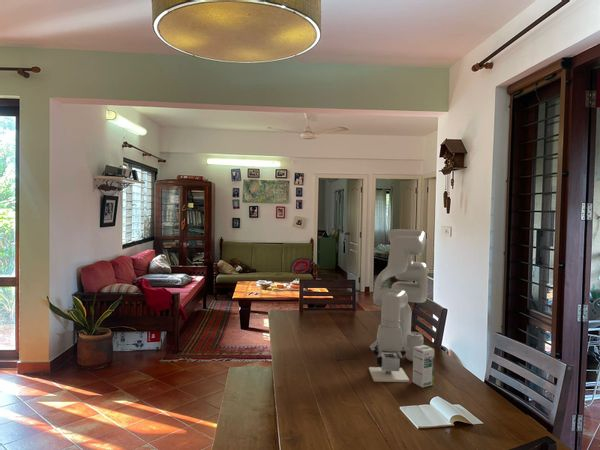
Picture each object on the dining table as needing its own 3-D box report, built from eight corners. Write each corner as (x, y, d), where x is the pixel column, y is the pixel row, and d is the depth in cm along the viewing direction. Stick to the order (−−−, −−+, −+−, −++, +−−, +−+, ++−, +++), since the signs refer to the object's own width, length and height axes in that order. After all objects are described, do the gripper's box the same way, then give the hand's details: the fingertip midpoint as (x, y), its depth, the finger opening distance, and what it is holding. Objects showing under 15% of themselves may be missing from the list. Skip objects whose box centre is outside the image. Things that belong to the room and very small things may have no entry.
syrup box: (422, 388, 159) (424, 350, 159) (411, 382, 165) (413, 346, 164) (433, 385, 162) (435, 348, 161) (422, 379, 167) (424, 344, 167)
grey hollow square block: (395, 364, 174) (395, 352, 173) (399, 371, 167) (399, 359, 166) (378, 364, 174) (378, 352, 173) (381, 370, 167) (382, 358, 166)
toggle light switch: (401, 370, 176) (402, 354, 176) (409, 382, 164) (410, 364, 164) (368, 369, 176) (369, 353, 176) (374, 381, 164) (374, 364, 164)
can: (423, 358, 191) (424, 332, 191) (421, 363, 184) (422, 337, 184) (407, 355, 194) (408, 330, 194) (404, 360, 188) (405, 334, 187)
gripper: (409, 321, 173) (407, 362, 174) (367, 320, 173) (366, 361, 174) (414, 326, 166) (412, 370, 166) (370, 325, 165) (369, 369, 166)
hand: (388, 365), depth 170 cm, fingers closed on grey hollow square block, 7 cm apart
